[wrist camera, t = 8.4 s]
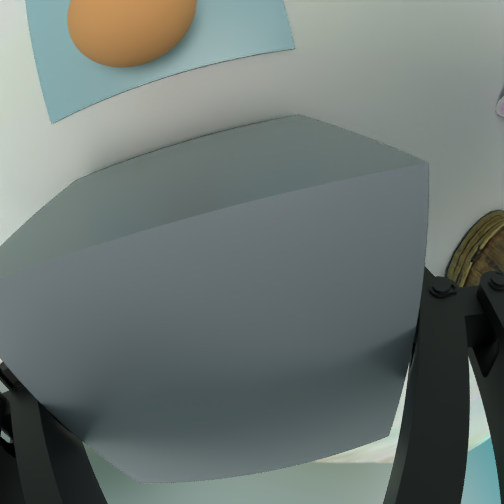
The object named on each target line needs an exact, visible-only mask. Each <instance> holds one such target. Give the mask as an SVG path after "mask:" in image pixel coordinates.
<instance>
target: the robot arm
mask: <svg viewBox="0 0 504 504" xmlns="http://www.w3.org/2000/svg"><path fill="white" fill-rule="evenodd" d="M468 356H469V359H470V362H471V365H472V368H473V372H474V375H475V378H476V381H477V384H478V388H479V391H480V395H481V398H482V402H483V406H484V410H485V413H486V417H487V422H488V426H489V430H490V435H491V439H492V444H493V449H494V454H495V460H496V466H497V473H498V480H499V487H500V496H501V504H504V273H503V272H499V271H488V272H485V273H484V274H483V275H482V276H481V278H480V282H479V285H476V286H467V287H459V286H458V285H457V284H456V283H455V282H454V281H453V280H451V279H448V278H445V277H435V276H434V275H433V274H432V273H431V272H430V271H429V270H428V269H427V268H426V267H424V276H423V285H422V292H421V300H420V306H419V313H418V319H417V325H416V330H415V336H414V341H413V346H412V351H411V356H410V360H409V372H408V381H407V389H406V397H405V404H404V411H403V417H402V423H401V429H400V434H399V439H398V445H397V449H396V454H395V459H394V463H393V468H392V472H391V476H390V480H389V484H388V487H387V491H386V495H385V499H384V502H383V504H461V498H462V492H463V486H464V479H465V471H466V462H467V452H468V438H469V415H470V385H469V361H468ZM0 380H1V381H2V383H3V384H4V385H5V386H6V387H7V388H8V389H9V391H7V392H4V393H1V392H0V436H1V430H2V431H3V432H4V433H5V434H6V435H8V436H9V437H10V443H8V442H6V441H5V440H4V439H3V438H2V437H0V504H107V501H106V499H105V497H104V495H103V493H102V491H101V488H100V486H99V484H98V481H97V479H96V477H95V474H94V472H93V469H92V467H91V464H90V462H89V459H88V456H87V454H86V451H85V448H84V446H83V443H82V440H80V439H79V438H78V437H77V436H76V435H75V434H73V433H72V432H71V431H70V430H69V429H68V428H67V427H65V426H64V425H63V424H62V423H61V422H60V421H59V420H58V419H57V418H56V417H55V416H53V415H52V414H51V413H50V412H49V411H48V410H47V409H46V408H45V407H44V406H43V405H42V404H41V403H40V402H39V401H38V400H37V399H36V398H35V397H34V396H33V395H32V394H31V393H30V391H29V390H28V389H27V388H26V387H25V386H24V385H23V384H22V383H21V382H20V381H19V379H18V378H17V377H16V376H15V375H14V374H13V373H12V371H11V370H10V369H9V368H8V367H7V366H6V364H5V363H4V362H2V363H1V364H0Z"/></svg>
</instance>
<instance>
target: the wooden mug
mask: <svg viewBox="0 0 504 504" xmlns="http://www.w3.org/2000/svg"><path fill="white" fill-rule="evenodd" d="M488 271H499V272H503V273H504V211H495V212H491V213H489V214H488V215H486V216H485V217H483V218H481V219H480V220H479V221H478V222H477V223H476V224H475V225H474V226H473V227H472V228H471V230H470V231H469V233H468V234H467V236H466V237H465V238H464V240H463V241H462V243H461V244H460V246H459V247H458V249H457V250H456V252H455V254H454V256H453V259H452V261H451V264H450V266H449V268H448V272H447V278H448V279H451V280H453V281H454V282H455V283H456V284H457V285H458V286H459V287H467V286H476V285H479V282H480V278H481V276H482V275H483V274H484V273H485V272H488ZM477 385H478V384H477Z"/></svg>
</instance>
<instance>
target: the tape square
mask: <svg viewBox="0 0 504 504" xmlns="http://www.w3.org/2000/svg"><path fill="white" fill-rule="evenodd" d="M25 1H26V10H27V17H28V24H29V30H30V36H31V42H32V47H33V52H34V57H35V62H36V67H37V71H38V76H39V80H40V84H41V88H42V92H43V96H44V100H45V103H46V107H47V111H48V114H49V117H50V121H51V124H53V123H55V122H57V121H59V120H61V119H63V118H65V117H67V116H69V115H71V114H73V113H75V112H77V111H79V110H82V109H84V108H86V107H88V106H91V105H93V104H95V103H97V102H100V101H102V100H105V99H107V98H109V97H112V96H114V95H117V94H119V93H122V92H125V91H127V90H130V89H133V88H135V87H138V86H141V85H144V84H147V83H150V82H153V81H156V80H159V79H162V78H165V77H168V76H171V75H175V74H178V73H181V72H185V71H188V70H192V69H196V68H199V67H203V66H207V65H211V64H215V63H219V62H224V61H228V60H233V59H237V58H242V57H247V56H252V55H258V54H263V53H269V52H276V51H282V50H289V49H295V45H294V41H293V37H292V33H291V29H290V25H289V21H288V17H287V13H286V9H285V6H284V2H283V0H197V4H196V12H195V16H194V19H193V21H192V24H191V26H190V28H189V30H188V31H187V33H186V34H185V36H184V37H183V38H182V39H181V41H180V42H179V43H178V44H177V45H176V46H175V47H174V48H172V49H171V50H170V51H169V52H167V53H166V54H164V55H163V56H161V57H159V58H157V59H155V60H153V61H151V62H148V63H145V64H142V65H138V66H133V67H110V66H105V65H102V64H99V63H96V62H94V61H92V60H90V59H89V58H87V57H86V56H85V55H83V54H82V53H81V52H80V51H79V50H78V48H77V47H76V46H75V44H74V43H73V41H72V39H71V37H70V34H69V30H68V25H67V13H68V8H69V4H70V1H71V0H25Z"/></svg>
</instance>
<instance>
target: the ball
mask: <svg viewBox="0 0 504 504" xmlns="http://www.w3.org/2000/svg"><path fill="white" fill-rule="evenodd" d="M196 4H197V0H71V1H70V4H69V8H68V13H67V25H68V30H69V34H70V37H71V39H72V41H73V43H74V44H75V46H76V47H77V48H78V50H79V51H80V52H81V53H82V54H83V55H85V56H86V57H87V58H89V59H90V60H92V61H94V62H96V63H99V64H102V65H105V66H110V67H133V66H138V65H142V64H145V63H148V62H151V61H153V60H155V59H157V58H159V57H161V56H163V55H164V54H166V53H167V52H169V51H170V50H171V49H172V48H174V47H175V46H176V45H177V44H178V43H179V42H180V41H181V39H182V38H183V37H184V36H185V34H186V33H187V31H188V30H189V28H190V26H191V24H192V21H193V19H194V16H195V12H196Z"/></svg>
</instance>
